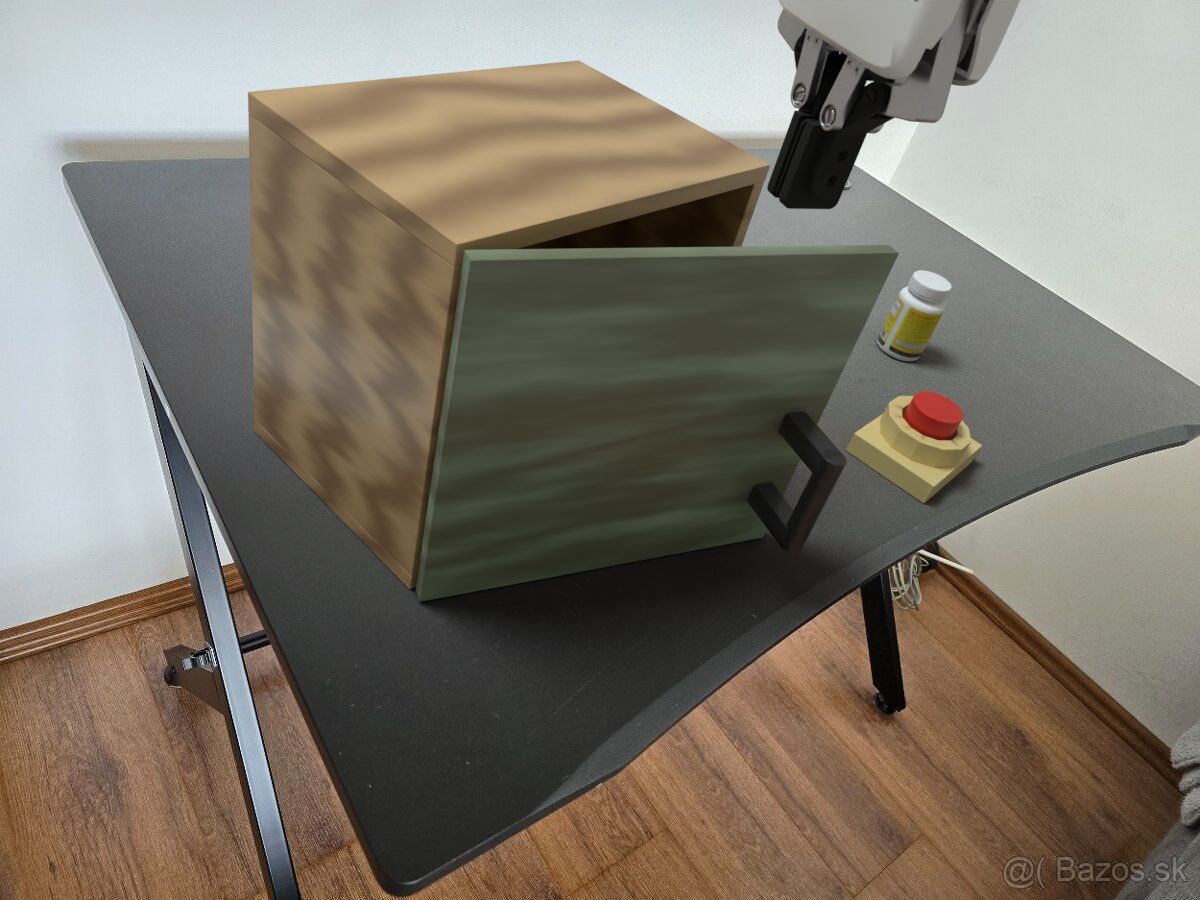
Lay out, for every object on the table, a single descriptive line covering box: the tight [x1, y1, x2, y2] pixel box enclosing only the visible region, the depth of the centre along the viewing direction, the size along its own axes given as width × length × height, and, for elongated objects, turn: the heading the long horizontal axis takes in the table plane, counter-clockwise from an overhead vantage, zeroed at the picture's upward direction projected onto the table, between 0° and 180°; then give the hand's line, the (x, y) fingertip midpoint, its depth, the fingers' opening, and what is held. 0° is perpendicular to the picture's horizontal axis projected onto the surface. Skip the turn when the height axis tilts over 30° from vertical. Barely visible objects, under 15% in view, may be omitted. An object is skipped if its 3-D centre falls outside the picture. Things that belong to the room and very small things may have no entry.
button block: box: [845, 395, 983, 504], centre depth 80 cm, size 10×8×4 cm
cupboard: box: [247, 60, 771, 590], centre depth 62 cm, size 18×26×24 cm
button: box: [904, 390, 964, 440], centre depth 79 cm, size 4×4×2 cm
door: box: [415, 244, 900, 603], centre depth 54 cm, size 6×26×24 cm, turn 114°
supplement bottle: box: [876, 269, 953, 362], centre depth 94 cm, size 5×5×8 cm
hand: (800, 200), depth 44 cm, fingers closed
